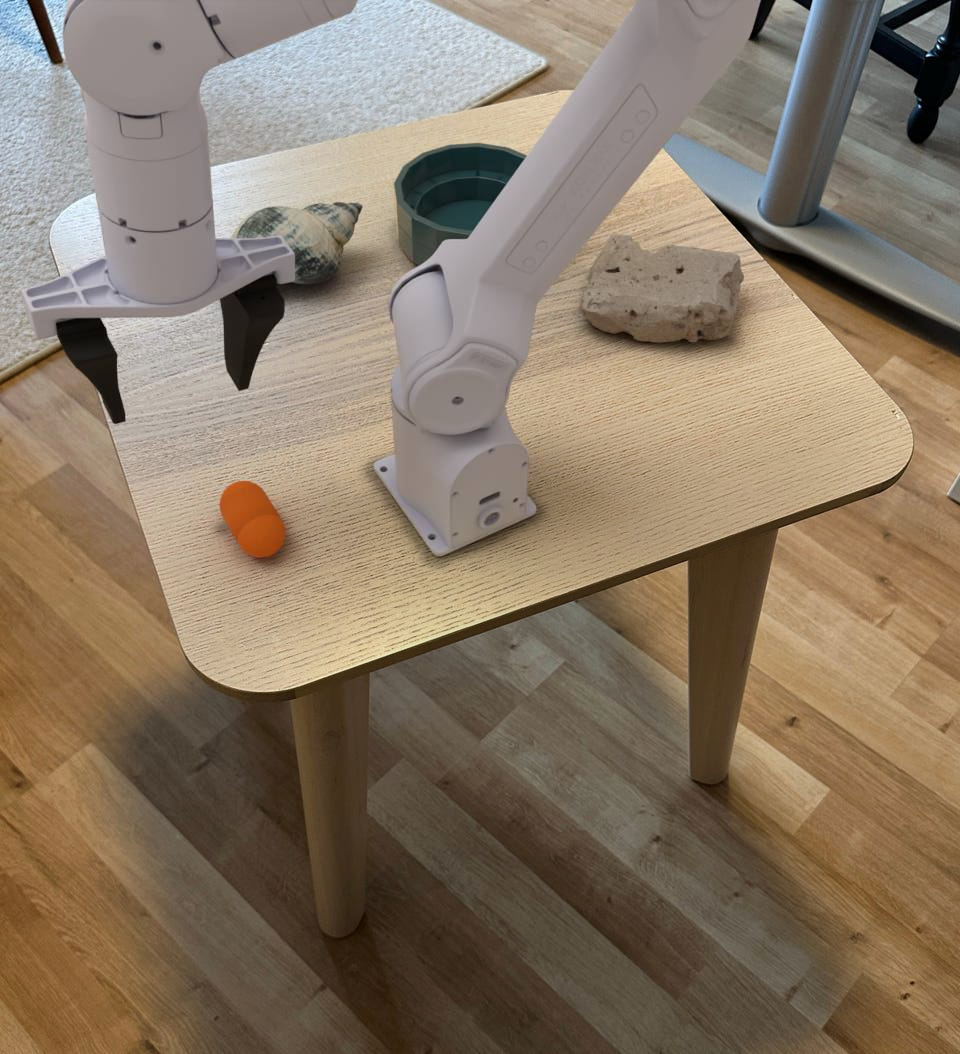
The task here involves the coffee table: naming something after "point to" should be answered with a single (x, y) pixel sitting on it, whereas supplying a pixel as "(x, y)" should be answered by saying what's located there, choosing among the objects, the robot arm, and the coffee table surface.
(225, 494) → the orange capsule pill
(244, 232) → the seashell
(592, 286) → the stone
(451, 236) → the bowl
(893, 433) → the coffee table surface
